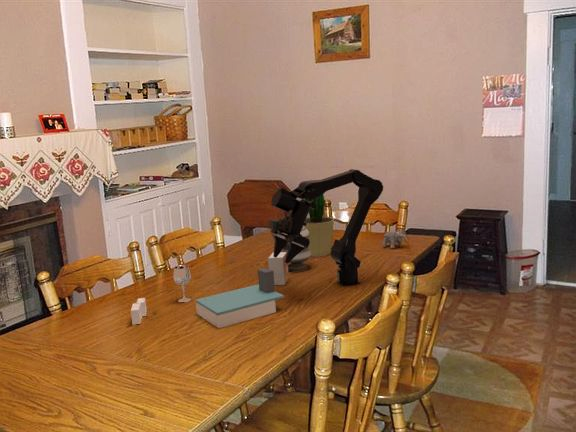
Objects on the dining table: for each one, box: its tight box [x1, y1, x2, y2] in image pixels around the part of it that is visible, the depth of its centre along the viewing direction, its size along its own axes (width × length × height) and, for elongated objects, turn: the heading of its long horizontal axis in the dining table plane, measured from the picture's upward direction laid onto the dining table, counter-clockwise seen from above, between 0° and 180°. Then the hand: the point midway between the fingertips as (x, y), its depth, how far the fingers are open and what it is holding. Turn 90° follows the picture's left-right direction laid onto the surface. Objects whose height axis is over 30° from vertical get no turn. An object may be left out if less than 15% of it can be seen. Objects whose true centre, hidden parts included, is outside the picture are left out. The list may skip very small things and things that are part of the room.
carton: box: [195, 300, 277, 329], centre depth 185 cm, size 20×16×4 cm
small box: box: [267, 251, 290, 286], centre depth 214 cm, size 8×6×10 cm
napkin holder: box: [130, 297, 148, 326], centre depth 187 cm, size 15×11×6 cm
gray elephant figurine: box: [381, 229, 409, 250], centre depth 253 cm, size 9×12×8 cm
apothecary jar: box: [281, 226, 312, 273], centre depth 230 cm, size 12×12×18 cm
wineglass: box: [173, 264, 192, 303], centre depth 200 cm, size 6×6×12 cm
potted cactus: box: [304, 194, 335, 258], centre depth 250 cm, size 15×15×30 cm
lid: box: [195, 267, 285, 315], centre depth 185 cm, size 23×16×10 cm
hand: (280, 260), depth 196 cm, fingers open, 9 cm apart
